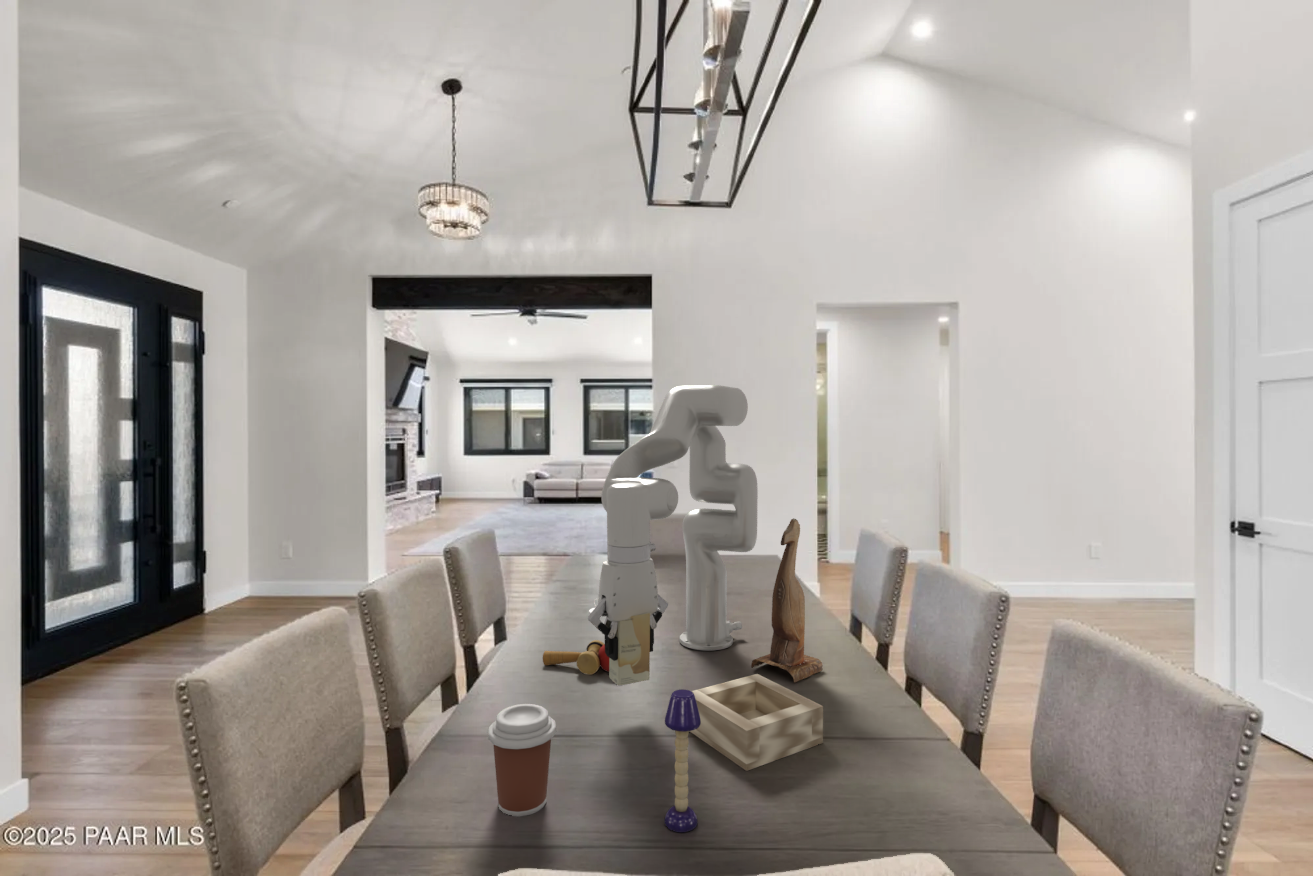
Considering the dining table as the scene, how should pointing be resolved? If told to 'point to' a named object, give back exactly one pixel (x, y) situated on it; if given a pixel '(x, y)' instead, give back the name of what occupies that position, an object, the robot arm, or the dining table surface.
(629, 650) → the skincare box
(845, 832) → the dining table surface
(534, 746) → the coffee cup
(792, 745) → the holder
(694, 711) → the toy lamp
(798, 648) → the bird sculpture
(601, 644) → the kendama
